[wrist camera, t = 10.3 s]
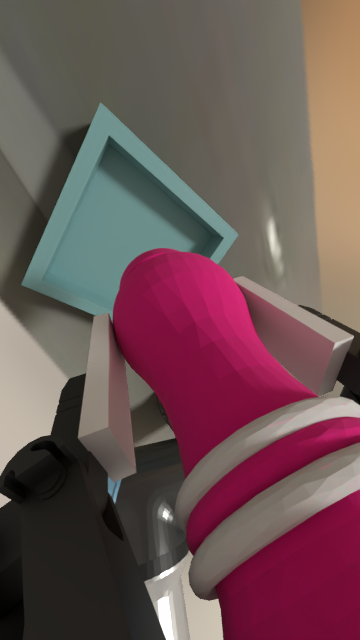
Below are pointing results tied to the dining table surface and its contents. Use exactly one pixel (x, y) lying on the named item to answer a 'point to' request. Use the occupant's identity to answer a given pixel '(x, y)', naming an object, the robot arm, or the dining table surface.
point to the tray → (118, 219)
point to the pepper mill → (247, 455)
